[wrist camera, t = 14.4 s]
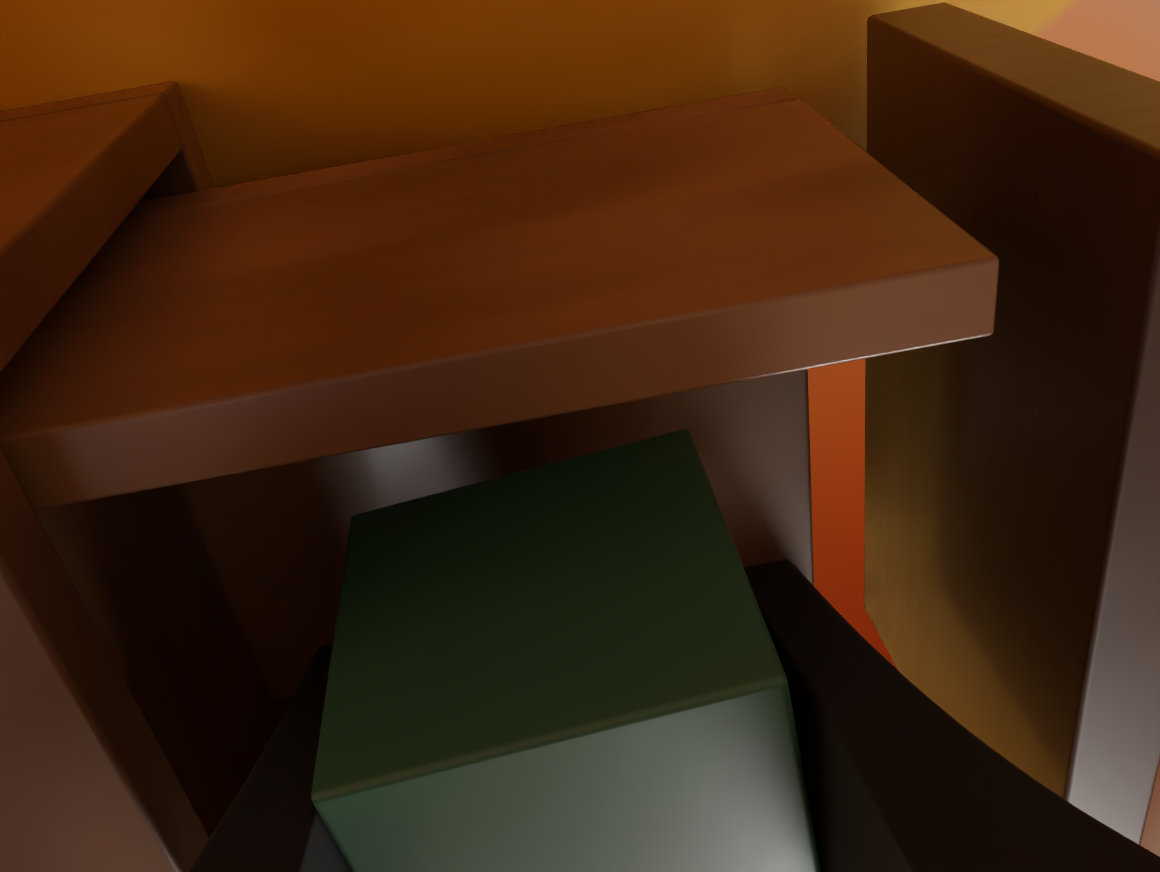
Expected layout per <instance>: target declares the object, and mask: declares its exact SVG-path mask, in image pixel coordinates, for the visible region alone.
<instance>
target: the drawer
mask: <svg viewBox="0 0 1160 872" xmlns="http://www.w3.org/2000/svg"><path fill="white" fill-rule="evenodd" d="M865 358H866V376H865V378H866V380H865V384H866V385H865V386H866V387H865V398H866V399H865V569H864V571H865V573H864V574H865V575H864V579H865V581H864V591H865V592H864V607H865V609H866V611H867V613H868V614H869V616H870V618H871V620H872V622H873V624H874V626H875V628H876V629H877V631H878V633H879V635H880V637H881V639H882V641H883V643H884V645H885V647H886V649H887V650H888V652H889V654H890V656H891V658H892V660H893V662H894V664H895V666H896V667H897V669H898V671H899V672H900V673H901V674H902V675H904V676H905V677H906V678H907V679H908V680H909V681H910V682H911V683H912V684H914V685H915V686H916V687H917V688H918V689H919V690H920V691H922V692H923V693H924V694H925V695H926V696H927V697H928V698H930V699H931V700H932V701H933V702H934V703H936V704H937V705H938V706H939V707H941V708H942V709H943V710H944V711H945V712H947V713H948V714H949V715H950V716H951V717H953V718H954V719H955V720H956V721H957V722H959V723H960V724H961V725H962V726H964V727H965V728H966V729H967V730H969V731H970V732H971V733H972V734H974V735H975V736H976V737H978V738H979V739H980V740H981V741H983V742H984V743H985V744H987V745H988V746H989V747H991V748H992V749H993V750H995V751H996V752H997V753H999V754H1000V755H1001V756H1003V757H1004V758H1006V759H1007V760H1008V761H1010V762H1011V763H1013V764H1014V765H1015V766H1017V767H1018V768H1020V769H1021V770H1022V771H1024V772H1025V773H1027V774H1028V775H1029V776H1031V777H1032V778H1033V779H1035V780H1036V781H1038V782H1039V783H1041V784H1042V785H1044V786H1045V787H1047V788H1048V789H1050V790H1051V791H1053V792H1054V793H1056V794H1057V795H1059V796H1060V797H1062V798H1063V799H1065V800H1066V801H1068V802H1069V803H1071V804H1072V805H1074V806H1075V807H1077V808H1078V809H1080V810H1082V811H1083V812H1085V813H1086V814H1088V815H1090V816H1091V817H1093V818H1095V819H1096V820H1098V821H1100V822H1101V823H1103V824H1105V825H1106V826H1108V827H1110V828H1112V829H1113V830H1115V831H1117V832H1118V833H1120V834H1122V835H1123V836H1125V837H1127V838H1128V839H1130V840H1132V841H1133V842H1135V843H1137V844H1138V845H1140V844H1141V840H1142V836H1143V832H1144V827H1145V823H1146V819H1147V814H1148V810H1149V806H1150V802H1151V798H1152V794H1153V789H1154V785H1155V781H1156V776H1157V772H1158V768H1159V764H1160V82H1159V81H1156V80H1154V79H1151V78H1148V77H1145V76H1143V75H1140V74H1137V73H1135V72H1132V71H1129V70H1126V69H1124V68H1121V67H1118V66H1115V65H1113V64H1110V63H1107V62H1104V61H1102V60H1099V59H1096V58H1094V57H1091V56H1088V55H1085V54H1083V53H1080V52H1078V51H1075V50H1072V49H1069V48H1067V47H1064V46H1061V45H1059V44H1056V43H1053V42H1050V41H1047V40H1045V39H1042V38H1039V37H1037V36H1034V35H1031V34H1029V33H1026V32H1023V31H1021V30H1018V29H1015V28H1012V27H1010V26H1007V25H1004V24H1002V23H999V22H996V21H993V20H991V19H988V18H985V17H983V16H980V15H977V14H974V13H972V12H969V11H966V10H964V9H961V8H958V7H955V6H953V5H950V4H947V3H939V4H933V5H927V6H922V7H916V8H910V9H905V10H899V11H894V12H888V13H882V14H877V15H872V16H870V17H868V21H867V152H866V151H865V150H863V149H862V148H861V147H860V146H858V145H857V144H856V143H855V142H853V141H852V140H851V139H849V138H848V137H847V136H846V135H844V134H843V133H842V132H841V131H839V130H838V129H837V128H836V127H834V126H833V125H832V124H831V123H829V122H828V121H827V120H826V119H824V118H823V117H822V116H821V115H819V114H818V113H817V112H815V111H814V110H813V109H812V108H810V107H809V106H808V105H807V104H805V103H804V102H803V101H802V100H798V98H797V97H795V96H794V95H793V94H792V93H790V92H789V91H788V90H787V89H785V88H782V87H780V88H774V89H769V90H763V91H757V92H752V93H746V94H740V95H735V96H729V97H724V98H718V99H712V100H707V101H701V102H695V103H690V104H684V105H679V106H673V107H667V108H662V109H656V110H651V111H645V112H639V113H634V114H628V115H622V116H617V117H611V118H606V119H600V120H594V121H589V122H583V123H577V124H572V125H566V126H561V127H555V128H549V129H544V130H538V131H532V132H527V133H521V134H516V135H510V136H504V137H499V138H493V139H487V140H482V141H476V142H471V143H465V144H459V145H454V146H448V147H442V148H437V149H431V150H426V151H420V152H414V153H409V154H403V155H397V156H392V157H386V158H381V159H375V160H369V161H364V162H358V163H352V164H347V165H341V166H336V167H330V168H324V169H319V170H313V171H307V172H302V173H296V174H291V175H285V176H279V177H274V178H268V179H262V180H257V181H251V182H246V183H240V184H234V185H229V186H223V187H217V188H212V189H206V190H201V191H195V192H189V193H184V194H178V195H172V196H167V197H161V198H156V199H150V200H144V201H139V202H138V204H137V205H136V206H135V207H134V209H133V210H132V211H131V212H130V214H129V215H128V216H127V217H126V218H125V220H124V221H123V222H122V223H121V225H120V226H119V227H118V228H117V230H116V231H115V232H114V233H113V235H112V236H111V237H110V238H109V239H108V241H107V242H106V243H105V244H104V246H103V247H102V248H101V249H100V251H99V252H98V253H97V254H96V256H95V257H94V258H93V259H92V261H91V262H90V263H89V264H88V265H87V267H86V268H85V269H84V270H83V272H82V273H81V274H80V275H79V277H78V278H77V279H76V280H75V282H74V283H73V284H72V285H71V286H70V288H69V289H68V290H67V291H66V293H65V294H64V295H63V296H62V298H61V299H60V300H59V301H58V303H57V304H56V305H55V306H54V307H53V309H52V310H51V311H50V312H49V314H48V315H47V316H46V317H45V319H44V320H43V321H42V322H41V324H40V325H39V326H38V327H37V329H36V330H35V331H34V332H33V333H32V335H31V336H30V337H29V338H28V340H27V341H26V342H25V343H24V345H23V346H22V347H21V348H20V350H19V351H18V352H17V353H16V354H15V356H14V357H13V358H12V359H11V361H10V362H9V363H8V364H7V366H6V367H5V368H4V369H3V371H2V372H1V373H0V447H1V449H2V451H3V453H4V455H5V457H6V458H7V460H8V462H9V464H10V466H11V468H12V470H13V471H14V473H15V475H16V477H17V479H18V481H19V483H20V485H21V486H22V488H23V490H24V492H25V494H26V496H27V498H28V499H29V501H30V503H31V505H32V507H33V509H34V511H35V513H36V514H37V516H38V518H39V520H40V522H41V524H42V526H43V528H44V529H45V531H46V533H47V535H48V537H49V539H50V541H51V542H52V544H53V546H54V548H55V550H56V552H57V554H58V556H59V557H60V559H61V561H62V563H63V565H64V567H65V569H66V570H67V572H68V574H69V576H70V578H71V580H72V582H73V584H74V585H75V587H76V589H77V591H78V593H79V595H80V597H81V599H82V600H83V602H84V604H85V606H86V608H87V610H88V612H89V613H90V615H91V617H92V619H93V621H94V623H95V625H96V627H97V628H98V630H99V632H100V634H101V636H102V638H103V640H104V641H105V643H106V645H107V647H108V649H109V651H110V653H111V655H112V656H113V658H114V660H115V662H116V664H117V666H118V668H119V670H120V671H121V673H122V675H123V677H124V679H125V681H126V683H127V684H128V686H129V688H130V690H131V692H132V694H133V696H134V698H135V699H136V701H137V703H138V705H139V707H140V709H141V711H142V712H143V714H144V716H145V718H146V720H147V722H148V724H149V726H150V727H151V729H152V731H153V733H154V735H155V737H156V739H157V741H158V742H159V744H160V746H161V748H162V750H163V752H164V754H165V755H166V757H167V759H168V761H169V763H170V765H171V767H172V769H173V770H174V772H175V774H176V776H177V778H178V780H179V782H180V783H181V785H182V787H183V789H184V791H185V793H186V795H187V797H188V798H189V800H190V802H191V804H192V806H193V808H194V810H195V812H196V813H197V815H198V817H199V819H200V821H201V823H202V825H203V826H204V828H205V830H206V832H207V834H208V836H209V838H210V837H211V835H212V834H213V832H214V831H215V829H216V827H217V826H218V824H219V823H220V821H221V820H222V818H223V817H224V815H225V814H226V812H227V810H228V809H229V807H230V806H231V804H232V803H233V801H234V799H235V798H236V796H237V794H238V793H239V791H240V789H241V788H242V786H243V784H244V782H245V781H246V779H247V777H248V776H249V774H250V772H251V770H252V769H253V767H254V765H255V763H256V762H257V760H258V758H259V757H260V755H261V753H262V751H263V750H264V748H265V746H266V744H267V743H268V741H269V739H270V737H271V736H272V734H273V732H274V730H275V728H276V726H277V725H278V723H279V721H280V719H281V717H282V715H283V713H284V712H285V710H286V708H287V706H288V704H289V702H290V700H291V698H292V697H293V695H294V693H295V691H296V689H297V687H298V685H299V683H300V681H301V679H302V677H303V675H304V673H305V671H306V669H307V667H308V665H309V664H310V662H311V660H312V658H313V656H314V654H315V653H316V651H317V650H318V649H319V648H320V646H323V645H328V644H333V639H334V632H335V625H336V618H337V611H338V604H339V597H340V590H341V583H342V577H343V570H344V563H345V556H346V549H347V542H348V535H349V528H350V521H351V518H352V516H354V515H356V514H359V513H363V512H367V511H371V510H374V509H378V508H382V507H386V506H390V505H394V504H397V503H401V502H405V501H409V500H413V499H417V498H420V497H424V496H428V495H432V494H436V493H440V492H444V491H447V490H451V489H455V488H459V487H463V486H467V485H470V484H474V483H478V482H482V481H486V480H490V479H493V478H497V477H501V476H505V475H509V474H513V473H516V472H520V471H524V470H528V469H532V468H536V467H540V466H543V465H547V464H551V463H555V462H559V461H563V460H566V459H570V458H574V457H578V456H582V455H586V454H589V453H593V452H597V451H601V450H605V449H609V448H612V447H616V446H620V445H624V444H628V443H632V442H636V441H639V440H643V439H647V438H651V437H655V436H659V435H662V434H666V433H670V432H674V431H678V430H682V429H687V430H688V431H689V432H690V433H691V435H692V437H693V440H694V442H695V445H696V448H697V450H698V453H699V455H700V458H701V460H702V463H703V465H704V468H705V470H706V473H707V476H708V478H709V481H710V483H711V486H712V488H713V491H714V493H715V496H716V498H717V501H718V504H719V506H720V509H721V511H722V514H723V516H724V519H725V521H726V524H727V526H728V529H729V532H730V534H731V537H732V539H733V542H734V544H735V547H736V549H737V552H738V554H739V557H740V560H741V562H742V565H743V567H747V566H753V565H758V564H764V563H769V562H774V561H780V560H785V559H787V560H788V561H790V562H791V563H793V564H794V565H796V567H797V568H798V569H799V570H800V571H801V572H802V574H803V575H804V576H805V577H806V578H807V579H808V580H809V582H810V583H811V584H812V585H813V586H814V575H813V574H814V572H813V538H812V503H811V469H810V435H809V403H808V402H809V401H808V371H807V370H808V369H811V368H816V367H821V366H827V365H832V364H838V363H843V362H848V361H854V360H859V359H865Z"/></svg>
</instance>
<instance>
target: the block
mask: <svg viewBox="0 0 1160 872" xmlns="http://www.w3.org/2000/svg"><path fill="white" fill-rule="evenodd" d="M311 800H312V802H313V804H314V806H315V808H316V810H317V811H318V813H319V815H320V816H321V818H322V820H323V821H324V823H325V825H326V827H327V828H328V830H329V832H330V833H331V835H332V837H333V839H334V840H335V842H336V844H337V845H338V847H339V849H340V851H341V852H342V854H343V856H344V857H345V859H346V861H347V863H348V864H349V866H350V868H351V869H352V871H353V872H821V866H820V861H819V855H818V849H817V844H816V838H815V833H814V827H813V821H812V816H811V810H810V804H809V799H808V793H807V787H806V782H805V776H804V770H803V765H802V759H801V754H800V748H799V742H798V737H797V731H796V725H795V720H794V714H793V708H792V703H791V697H790V691H789V686H788V680H787V677H786V674H785V672H784V669H783V666H782V664H781V661H780V659H779V656H778V654H777V651H776V649H775V646H774V644H773V641H772V638H771V636H770V633H769V631H768V628H767V626H766V623H765V621H764V618H763V616H762V613H761V610H760V608H759V605H758V603H757V600H756V598H755V595H754V593H753V590H752V588H751V585H750V582H749V580H748V577H747V575H746V572H745V570H744V567H743V565H742V562H741V560H740V557H739V554H738V552H737V549H736V547H735V544H734V542H733V539H732V537H731V534H730V532H729V529H728V526H727V524H726V521H725V519H724V516H723V514H722V511H721V509H720V506H719V504H718V501H717V498H716V496H715V493H714V491H713V488H712V486H711V483H710V481H709V478H708V476H707V473H706V470H705V468H704V465H703V463H702V460H701V458H700V455H699V453H698V450H697V448H696V445H695V442H694V440H693V437H692V435H691V433H690V432H689V431H688V430H687V429H682V430H678V431H674V432H670V433H666V434H662V435H659V436H655V437H651V438H647V439H643V440H639V441H636V442H632V443H628V444H624V445H620V446H616V447H612V448H609V449H605V450H601V451H597V452H593V453H589V454H586V455H582V456H578V457H574V458H570V459H566V460H563V461H559V462H555V463H551V464H547V465H543V466H540V467H536V468H532V469H528V470H524V471H520V472H516V473H513V474H509V475H505V476H501V477H497V478H493V479H490V480H486V481H482V482H478V483H474V484H470V485H467V486H463V487H459V488H455V489H451V490H447V491H444V492H440V493H436V494H432V495H428V496H424V497H420V498H417V499H413V500H409V501H405V502H401V503H397V504H394V505H390V506H386V507H382V508H378V509H374V510H371V511H367V512H363V513H359V514H356V515H354V516H352V518H351V521H350V528H349V535H348V542H347V549H346V556H345V563H344V570H343V577H342V583H341V590H340V597H339V604H338V611H337V618H336V625H335V632H334V639H333V646H332V653H331V660H330V667H329V674H328V681H327V688H326V694H325V701H324V708H323V715H322V722H321V729H320V736H319V743H318V750H317V757H316V764H315V771H314V778H313V785H312V792H311Z"/></svg>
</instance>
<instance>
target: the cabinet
mask: <svg viewBox="0 0 1160 872" xmlns="http://www.w3.org/2000/svg"><path fill="white" fill-rule="evenodd" d="M212 188H213V185H212V182H211V179H210V176H209V173H208V170H207V168H206V165H205V162H204V159H203V156H202V153H201V150H200V147H199V144H198V142H197V139H196V136H195V133H194V130H193V127H192V124H191V121H190V118H189V116H188V113H187V110H186V107H185V104H184V101H183V98H182V95H181V92H180V90H179V87H178V84H177V83H176V82H173V81H172V82H167V83H161V84H155V85H150V86H144V87H138V88H133V89H127V90H121V91H115V92H110V93H104V94H98V95H93V96H87V97H81V98H76V99H70V100H64V101H59V102H53V103H47V104H42V105H36V106H30V107H24V108H19V109H13V110H7V111H2V112H0V373H1V372H2V371H3V369H4V368H5V367H6V366H7V364H8V363H9V362H10V361H11V359H12V358H13V357H14V356H15V354H16V353H17V352H18V351H19V350H20V348H21V347H22V346H23V345H24V343H25V342H26V341H27V340H28V338H29V337H30V336H31V335H32V333H33V332H34V331H35V330H36V329H37V327H38V326H39V325H40V324H41V322H42V321H43V320H44V319H45V317H46V316H47V315H48V314H49V312H50V311H51V310H52V309H53V307H54V306H55V305H56V304H57V303H58V301H59V300H60V299H61V298H62V296H63V295H64V294H65V293H66V291H67V290H68V289H69V288H70V286H71V285H72V284H73V283H74V282H75V280H76V279H77V278H78V277H79V275H80V274H81V273H82V272H83V270H84V269H85V268H86V267H87V265H88V264H89V263H90V262H91V261H92V259H93V258H94V257H95V256H96V254H97V253H98V252H99V251H100V249H101V248H102V247H103V246H104V244H105V243H106V242H107V241H108V239H109V238H110V237H111V236H112V235H113V233H114V232H115V231H116V230H117V228H118V227H119V226H120V225H121V223H122V222H123V221H124V220H125V218H126V217H127V216H128V215H129V214H130V212H131V211H132V210H133V209H134V207H135V206H136V205H137V204H138V202H139V201H144V200H150V199H156V198H161V197H167V196H172V195H178V194H184V193H189V192H195V191H201V190H206V189H212ZM208 840H209V836H208V834H207V832H206V830H205V828H204V826H203V825H202V823H201V821H200V819H199V817H198V815H197V813H196V812H195V810H194V808H193V806H192V804H191V802H190V800H189V798H188V797H187V795H186V793H185V791H184V789H183V787H182V785H181V783H180V782H179V780H178V778H177V776H176V774H175V772H174V770H173V769H172V767H171V765H170V763H169V761H168V759H167V757H166V755H165V754H164V752H163V750H162V748H161V746H160V744H159V742H158V741H157V739H156V737H155V735H154V733H153V731H152V729H151V727H150V726H149V724H148V722H147V720H146V718H145V716H144V714H143V712H142V711H141V709H140V707H139V705H138V703H137V701H136V699H135V698H134V696H133V694H132V692H131V690H130V688H129V686H128V684H127V683H126V681H125V679H124V677H123V675H122V673H121V671H120V670H119V668H118V666H117V664H116V662H115V660H114V658H113V656H112V655H111V653H110V651H109V649H108V647H107V645H106V643H105V641H104V640H103V638H102V636H101V634H100V632H99V630H98V628H97V627H96V625H95V623H94V621H93V619H92V617H91V615H90V613H89V612H88V610H87V608H86V606H85V604H84V602H83V600H82V599H81V597H80V595H79V593H78V591H77V589H76V587H75V585H74V584H73V582H72V580H71V578H70V576H69V574H68V572H67V570H66V569H65V567H64V565H63V563H62V561H61V559H60V557H59V556H58V554H57V552H56V550H55V548H54V546H53V544H52V542H51V541H50V539H49V537H48V535H47V533H46V531H45V529H44V528H43V526H42V524H41V522H40V520H39V518H38V516H37V514H36V513H35V511H34V509H33V507H32V505H31V503H30V501H29V499H28V498H27V496H26V494H25V492H24V490H23V488H22V486H21V485H20V483H19V481H18V479H17V477H16V475H15V473H14V471H13V470H12V468H11V466H10V464H9V462H8V460H7V458H6V457H5V455H4V453H3V451H2V449H1V447H0V872H188V870H189V869H190V867H191V866H192V864H193V863H194V861H195V860H196V858H197V857H198V855H199V854H200V852H201V851H202V849H203V848H204V846H205V844H206V843H207V841H208Z"/></svg>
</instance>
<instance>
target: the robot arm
mask: <svg viewBox="0 0 1160 872" xmlns="http://www.w3.org/2000/svg"><path fill="white" fill-rule="evenodd" d="M744 570H745V572H746V575H747V577H748V580H749V582H750V585H751V588H752V590H753V593H754V595H755V598H756V600H757V603H758V605H759V608H760V610H761V613H762V616H763V618H764V621H765V623H766V626H767V628H768V631H769V633H770V636H771V638H772V641H773V644H774V646H775V649H776V651H777V654H778V656H779V659H780V661H781V664H782V666H783V669H784V672H785V674H786V677H787V680H788V686H789V691H790V697H791V703H792V708H793V714H794V720H795V725H796V731H797V737H798V742H799V748H800V754H801V759H802V765H803V770H804V776H805V782H806V787H807V793H808V799H809V804H810V810H811V816H812V821H813V827H814V833H815V838H816V844H817V849H818V855H819V861H820V866H821V872H1160V857H1159V856H1157V855H1155V854H1154V853H1152V852H1150V851H1149V850H1147V849H1145V848H1144V847H1142V846H1140V845H1138V844H1137V843H1135V842H1133V841H1132V840H1130V839H1128V838H1127V837H1125V836H1123V835H1122V834H1120V833H1118V832H1117V831H1115V830H1113V829H1112V828H1110V827H1108V826H1106V825H1105V824H1103V823H1101V822H1100V821H1098V820H1096V819H1095V818H1093V817H1091V816H1090V815H1088V814H1086V813H1085V812H1083V811H1082V810H1080V809H1078V808H1077V807H1075V806H1074V805H1072V804H1071V803H1069V802H1068V801H1066V800H1065V799H1063V798H1062V797H1060V796H1059V795H1057V794H1056V793H1054V792H1053V791H1051V790H1050V789H1048V788H1047V787H1045V786H1044V785H1042V784H1041V783H1039V782H1038V781H1036V780H1035V779H1033V778H1032V777H1031V776H1029V775H1028V774H1027V773H1025V772H1024V771H1022V770H1021V769H1020V768H1018V767H1017V766H1015V765H1014V764H1013V763H1011V762H1010V761H1008V760H1007V759H1006V758H1004V757H1003V756H1001V755H1000V754H999V753H997V752H996V751H995V750H993V749H992V748H991V747H989V746H988V745H987V744H985V743H984V742H983V741H981V740H980V739H979V738H978V737H976V736H975V735H974V734H972V733H971V732H970V731H969V730H967V729H966V728H965V727H964V726H962V725H961V724H960V723H959V722H957V721H956V720H955V719H954V718H953V717H951V716H950V715H949V714H948V713H947V712H945V711H944V710H943V709H942V708H941V707H939V706H938V705H937V704H936V703H934V702H933V701H932V700H931V699H930V698H928V697H927V696H926V695H925V694H924V693H923V692H922V691H920V690H919V689H918V688H917V687H916V686H915V685H914V684H912V683H911V682H910V681H909V680H908V679H907V678H906V677H905V676H904V675H902V674H901V673H900V672H899V671H898V670H897V669H896V668H895V667H894V666H893V665H892V664H890V662H888V661H887V660H886V659H885V658H884V657H883V656H882V655H881V654H880V653H879V652H878V651H877V650H875V649H874V648H873V647H872V646H871V645H870V644H869V643H868V642H867V641H866V640H865V639H864V638H863V637H862V636H861V635H860V634H859V633H858V632H857V631H856V630H855V629H854V628H853V627H852V626H851V625H850V624H849V623H848V622H847V621H846V620H845V619H844V618H843V617H842V616H841V615H840V614H839V613H838V612H837V611H836V610H835V609H834V608H833V607H832V605H831V604H830V603H829V602H828V601H827V600H826V599H825V598H824V597H823V596H822V595H821V594H820V593H819V592H818V590H817V589H816V588H815V587H814V586H813V585H812V584H811V583H810V582H809V580H808V579H807V578H806V577H805V576H804V575H803V574H802V572H801V571H800V570H799V569H798V568H797V567H796V565H794V564H793V563H791V562H790V561H788V560H787V559H785V560H780V561H774V562H769V563H764V564H758V565H753V566H747V567H744ZM332 646H333V644H328V645H323V646H320V648H319V649H318V650H317V651H316V653H315V654H314V656H313V658H312V660H311V662H310V664H309V665H308V667H307V669H306V671H305V673H304V675H303V677H302V679H301V681H300V683H299V685H298V687H297V689H296V691H295V693H294V695H293V697H292V698H291V700H290V702H289V704H288V706H287V708H286V710H285V712H284V713H283V715H282V717H281V719H280V721H279V723H278V725H277V726H276V728H275V730H274V732H273V734H272V736H271V737H270V739H269V741H268V743H267V744H266V746H265V748H264V750H263V751H262V753H261V755H260V757H259V758H258V760H257V762H256V763H255V765H254V767H253V769H252V770H251V772H250V774H249V776H248V777H247V779H246V781H245V782H244V784H243V786H242V788H241V789H240V791H239V793H238V794H237V796H236V798H235V799H234V801H233V803H232V804H231V806H230V807H229V809H228V810H227V812H226V814H225V815H224V817H223V818H222V820H221V821H220V823H219V824H218V826H217V827H216V829H215V831H214V832H213V834H212V835H211V837H210V838H209V840H208V841H207V843H206V844H205V846H204V848H203V849H202V851H201V852H200V854H199V855H198V857H197V858H196V860H195V861H194V863H193V864H192V866H191V867H190V869H189V870H188V872H353V871H352V869H351V868H350V866H349V864H348V863H347V861H346V859H345V857H344V856H343V854H342V852H341V851H340V849H339V847H338V845H337V844H336V842H335V840H334V839H333V837H332V835H331V833H330V832H329V830H328V828H327V827H326V825H325V823H324V821H323V820H322V818H321V816H320V815H319V813H318V811H317V810H316V808H315V806H314V804H313V802H312V800H311V792H312V785H313V778H314V771H315V764H316V757H317V750H318V743H319V736H320V729H321V722H322V715H323V708H324V701H325V694H326V688H327V681H328V674H329V667H330V660H331V653H332Z"/></svg>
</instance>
